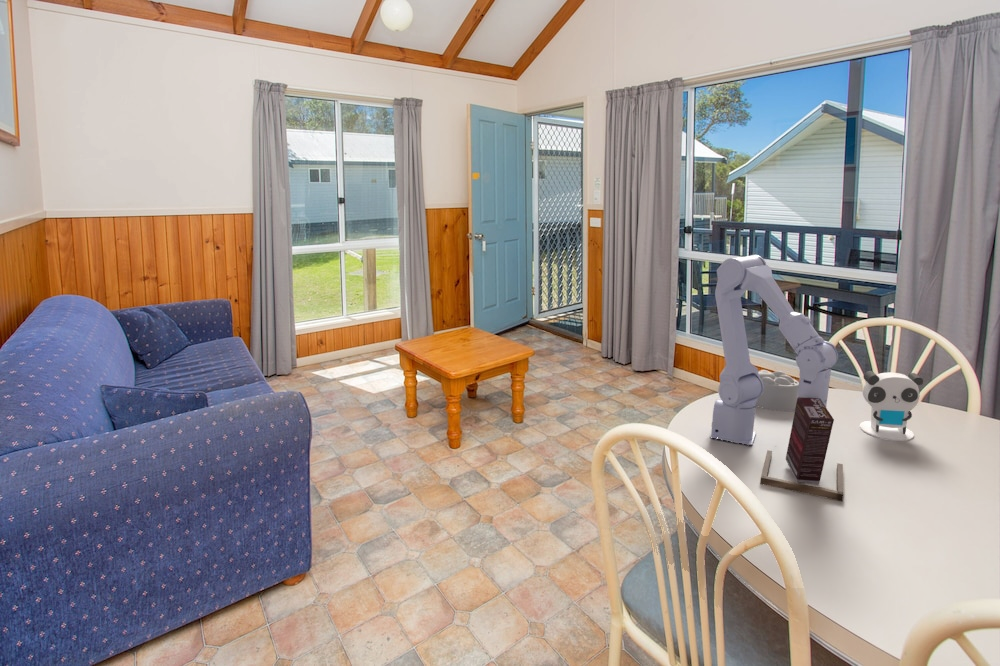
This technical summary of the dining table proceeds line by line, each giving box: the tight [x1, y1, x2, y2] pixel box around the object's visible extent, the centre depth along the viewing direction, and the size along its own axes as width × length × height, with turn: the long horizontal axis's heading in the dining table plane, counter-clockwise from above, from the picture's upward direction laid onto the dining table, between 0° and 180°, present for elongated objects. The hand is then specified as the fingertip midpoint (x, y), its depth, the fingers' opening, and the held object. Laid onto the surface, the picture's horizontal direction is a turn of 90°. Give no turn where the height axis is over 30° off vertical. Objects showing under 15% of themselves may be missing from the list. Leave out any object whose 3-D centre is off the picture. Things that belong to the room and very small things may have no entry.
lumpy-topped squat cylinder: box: [756, 369, 799, 412], centre depth 165 cm, size 10×13×9 cm
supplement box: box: [785, 397, 835, 485], centre depth 125 cm, size 9×5×16 cm, turn 171°
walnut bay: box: [759, 449, 844, 502], centre depth 126 cm, size 15×14×2 cm
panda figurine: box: [859, 370, 924, 442], centre depth 146 cm, size 12×11×15 cm
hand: (805, 455), depth 132 cm, fingers closed, pressing on supplement box
